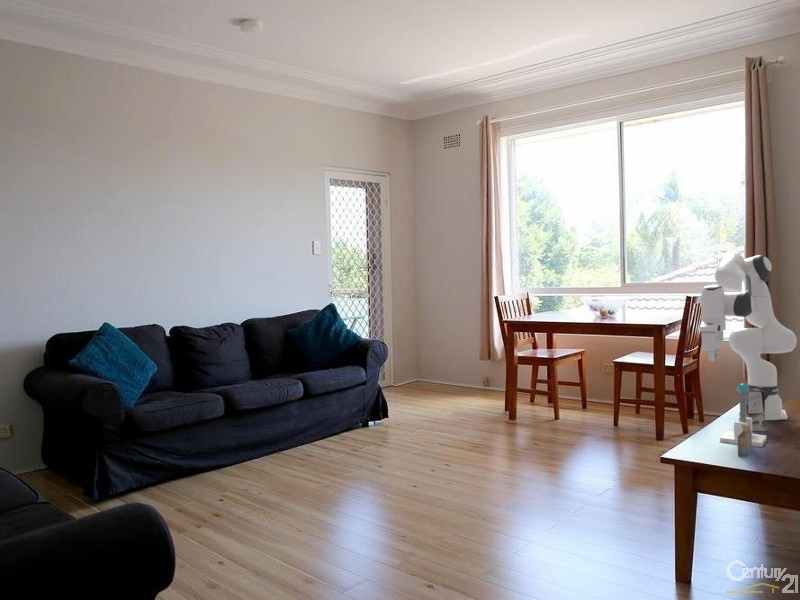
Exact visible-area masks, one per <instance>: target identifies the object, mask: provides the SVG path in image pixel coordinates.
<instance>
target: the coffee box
mask: <svg viewBox="0 0 800 600" xmlns="http://www.w3.org/2000/svg"><path fill="white" fill-rule="evenodd" d="M746 417H747V418H752V432H765V431H766V420H765V392H764V391H762V390H760V389H758V388H749V391H748V392H747V393H746Z"/></svg>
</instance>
